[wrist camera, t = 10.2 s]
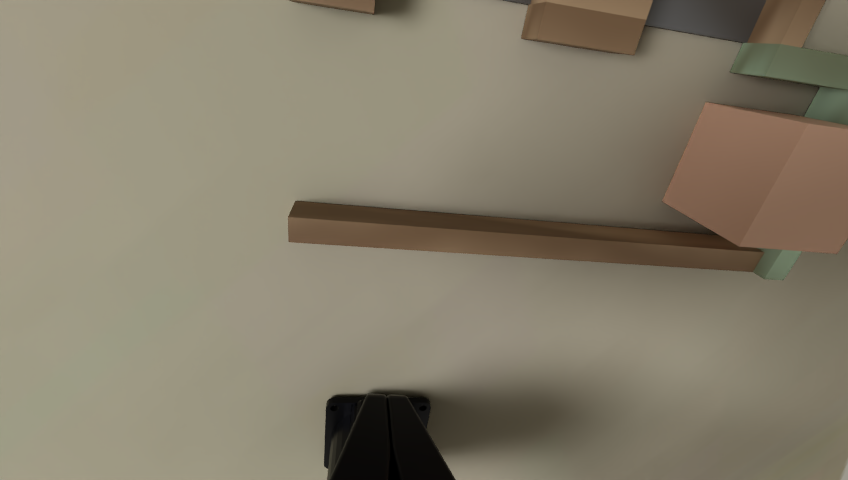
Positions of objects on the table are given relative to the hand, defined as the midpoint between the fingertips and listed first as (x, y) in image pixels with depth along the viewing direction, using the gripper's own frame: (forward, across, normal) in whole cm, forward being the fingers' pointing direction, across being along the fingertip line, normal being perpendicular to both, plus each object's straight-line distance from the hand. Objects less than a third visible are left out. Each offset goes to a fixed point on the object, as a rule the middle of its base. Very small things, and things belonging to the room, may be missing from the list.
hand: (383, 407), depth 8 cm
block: (+12, -17, -5) cm, 21 cm away
